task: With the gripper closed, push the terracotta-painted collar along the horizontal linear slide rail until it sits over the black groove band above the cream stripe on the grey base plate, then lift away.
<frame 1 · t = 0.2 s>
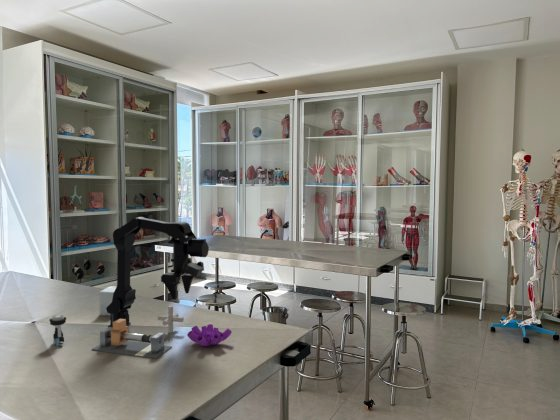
hand: (180, 296, 161), 14 cm above the table, fingers open, 9 cm apart
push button: (59, 344, 150), on the table
skincare box: (111, 312, 188), on the table
purple tube cluster: (206, 345, 151), on the table
pipe connector: (170, 332, 164), on the table
linear slide rail: (132, 340, 146), on the grey base plate
collar: (119, 331, 148), point 5 cm above the table, slide at 0.0 cm
grey base plate: (132, 348, 147), on the table
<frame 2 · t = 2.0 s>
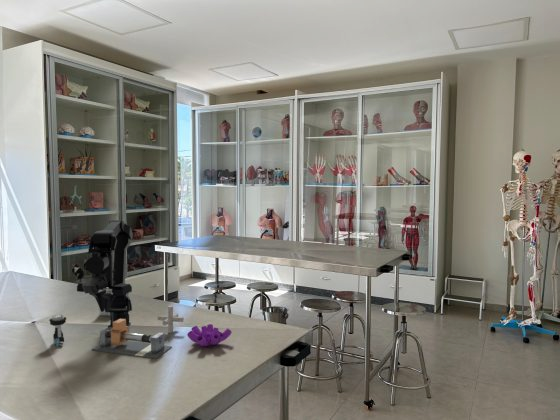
hand: (104, 311, 149), 12 cm above the table, fingers closed
nothing on the table moved.
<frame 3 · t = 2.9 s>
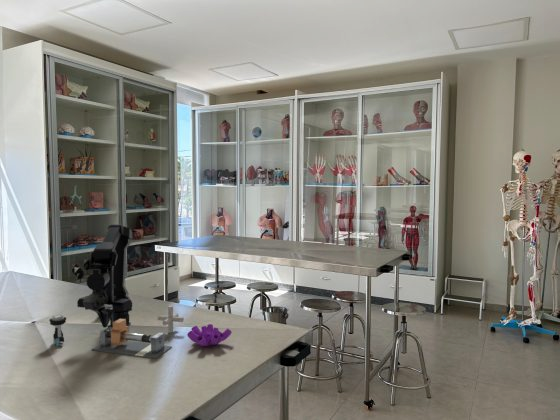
hand: (105, 327, 149), 7 cm above the table, fingers closed
nothing on the table moved.
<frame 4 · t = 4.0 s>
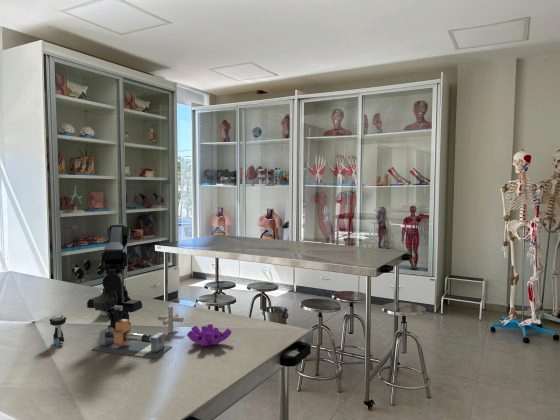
hand: (114, 328, 148), 7 cm above the table, fingers closed
collar: (122, 332, 147), point 5 cm above the table, slide at 1.1 cm, touching gripper
everything else where it was.
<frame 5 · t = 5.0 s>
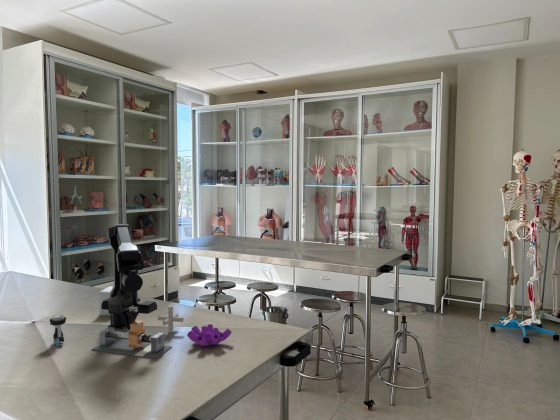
hand: (129, 329, 146), 7 cm above the table, fingers closed
collar: (137, 333, 146), point 5 cm above the table, slide at 7.0 cm, touching gripper
everything else where it was.
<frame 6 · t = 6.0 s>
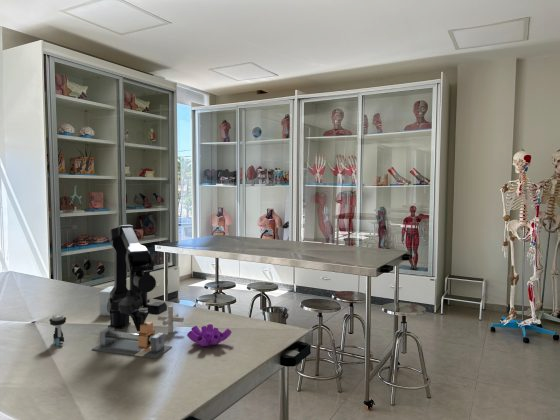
hand: (139, 331, 145), 7 cm above the table, fingers closed
collar: (146, 334, 145), point 5 cm above the table, slide at 10.8 cm, touching gripper
everything else where it was.
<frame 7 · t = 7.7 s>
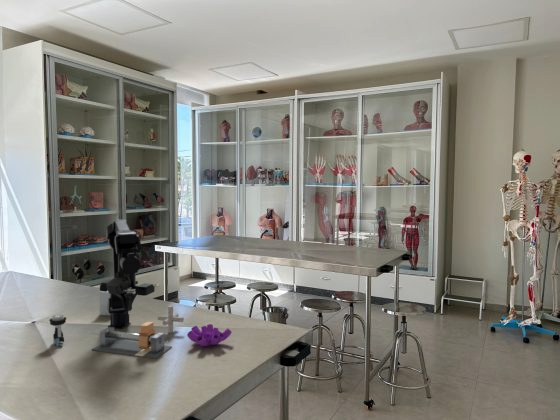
hand: (127, 311, 150), 12 cm above the table, fingers closed
collar: (147, 334, 145), point 5 cm above the table, slide at 10.9 cm
everything else where it was.
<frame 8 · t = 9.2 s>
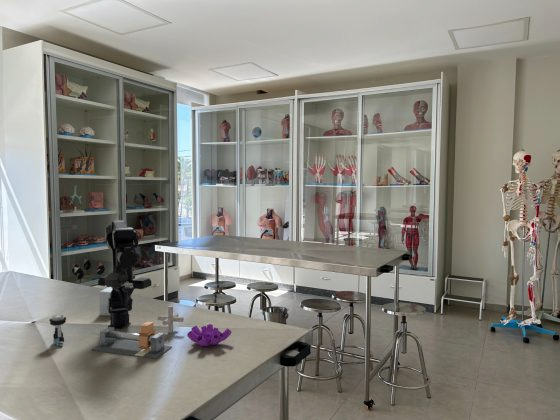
hand: (125, 305, 153), 13 cm above the table, fingers closed
nothing on the table moved.
at the end: collar slide at 10.9 cm; collar touching nothing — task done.
